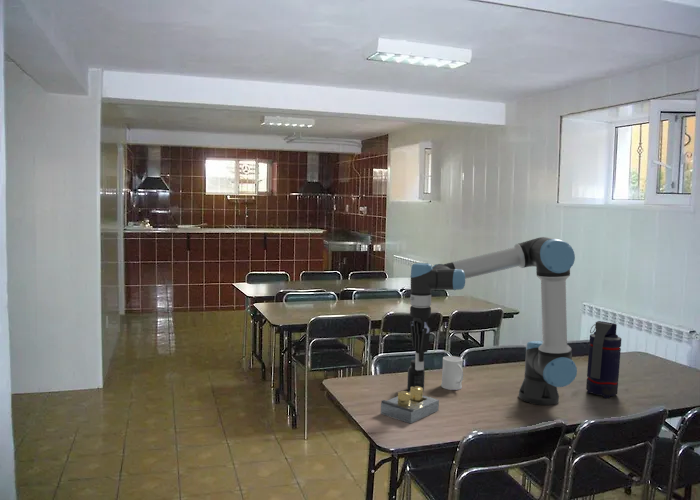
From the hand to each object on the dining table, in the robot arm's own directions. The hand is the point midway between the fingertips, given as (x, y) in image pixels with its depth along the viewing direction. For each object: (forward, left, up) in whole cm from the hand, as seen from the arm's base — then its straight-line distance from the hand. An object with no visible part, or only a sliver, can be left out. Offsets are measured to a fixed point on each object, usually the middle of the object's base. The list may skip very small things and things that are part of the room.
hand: (419, 369), depth 214 cm
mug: (+3, -32, -15) cm, 35 cm away
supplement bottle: (+13, -18, -15) cm, 27 cm away
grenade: (-44, -69, -15) cm, 83 cm away
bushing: (+1, +1, -15) cm, 15 cm away
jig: (0, +4, -15) cm, 16 cm away
